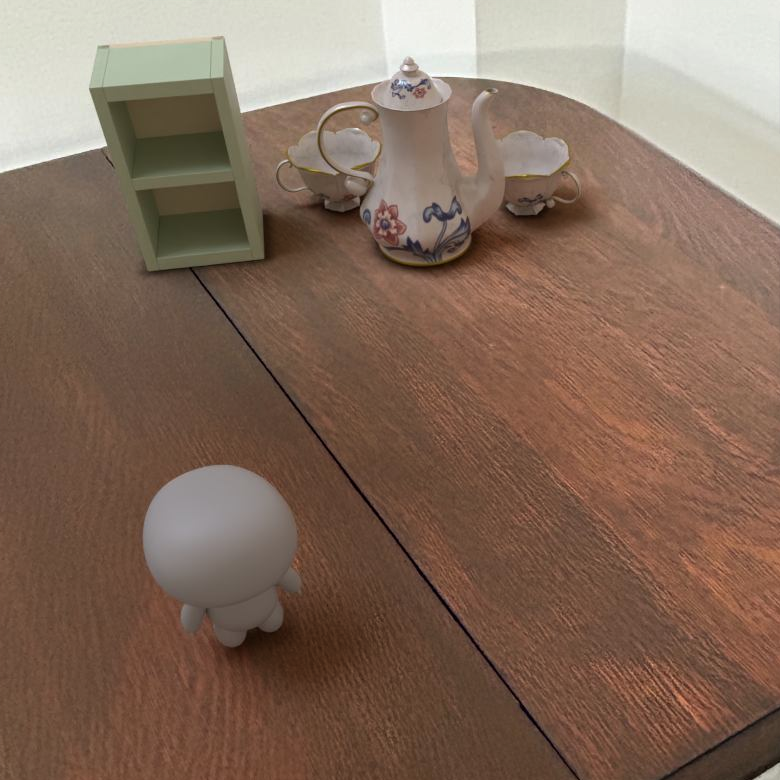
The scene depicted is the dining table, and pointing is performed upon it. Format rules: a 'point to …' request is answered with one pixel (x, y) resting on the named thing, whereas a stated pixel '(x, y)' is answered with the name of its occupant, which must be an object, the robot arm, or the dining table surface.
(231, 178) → the shelf
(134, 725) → the dining table surface
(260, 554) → the figurine
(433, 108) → the chinaware
